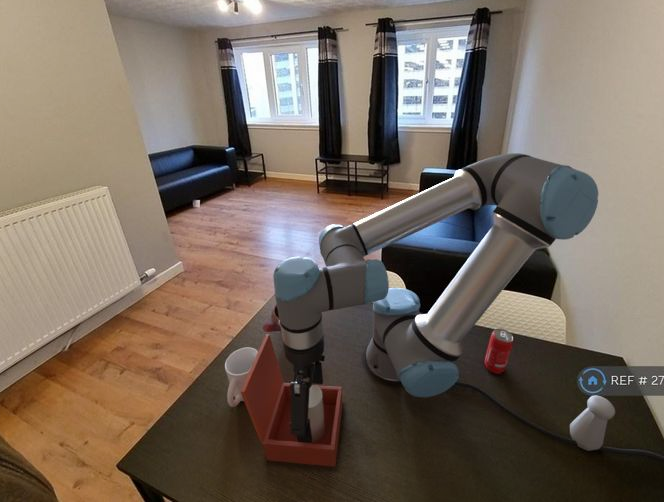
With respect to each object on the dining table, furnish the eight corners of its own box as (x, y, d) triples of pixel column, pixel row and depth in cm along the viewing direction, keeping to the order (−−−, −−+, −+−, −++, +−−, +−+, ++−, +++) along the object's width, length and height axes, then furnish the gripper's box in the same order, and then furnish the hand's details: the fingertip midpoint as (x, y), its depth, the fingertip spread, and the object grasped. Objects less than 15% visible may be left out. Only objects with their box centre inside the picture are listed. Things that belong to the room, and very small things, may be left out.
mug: (248, 421, 72) (241, 392, 67) (217, 414, 73) (208, 386, 69) (270, 376, 82) (265, 349, 78) (243, 371, 84) (236, 345, 79)
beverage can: (483, 371, 83) (492, 339, 77) (484, 356, 87) (492, 325, 82) (504, 377, 81) (514, 345, 76) (503, 362, 85) (513, 330, 80)
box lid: (269, 334, 66) (266, 334, 66) (244, 391, 54) (240, 391, 54) (283, 381, 73) (280, 381, 73) (263, 442, 61) (260, 442, 61)
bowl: (281, 309, 106) (279, 291, 103) (317, 313, 104) (315, 294, 101) (263, 345, 92) (259, 326, 88) (304, 350, 90) (302, 330, 87)
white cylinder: (327, 419, 71) (324, 385, 66) (323, 443, 66) (320, 408, 61) (305, 417, 71) (300, 383, 66) (300, 441, 67) (294, 406, 62)
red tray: (342, 405, 75) (341, 387, 72) (335, 468, 63) (334, 450, 60) (285, 400, 76) (282, 382, 73) (267, 462, 64) (262, 443, 61)
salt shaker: (599, 461, 63) (623, 423, 57) (567, 445, 66) (586, 408, 60) (597, 435, 68) (619, 398, 62) (566, 422, 70) (584, 385, 64)
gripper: (299, 293, 67) (306, 360, 77) (260, 395, 45) (277, 472, 55) (332, 294, 66) (336, 362, 76) (309, 399, 45) (318, 476, 54)
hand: (311, 408), depth 66 cm, fingers open, 12 cm apart
